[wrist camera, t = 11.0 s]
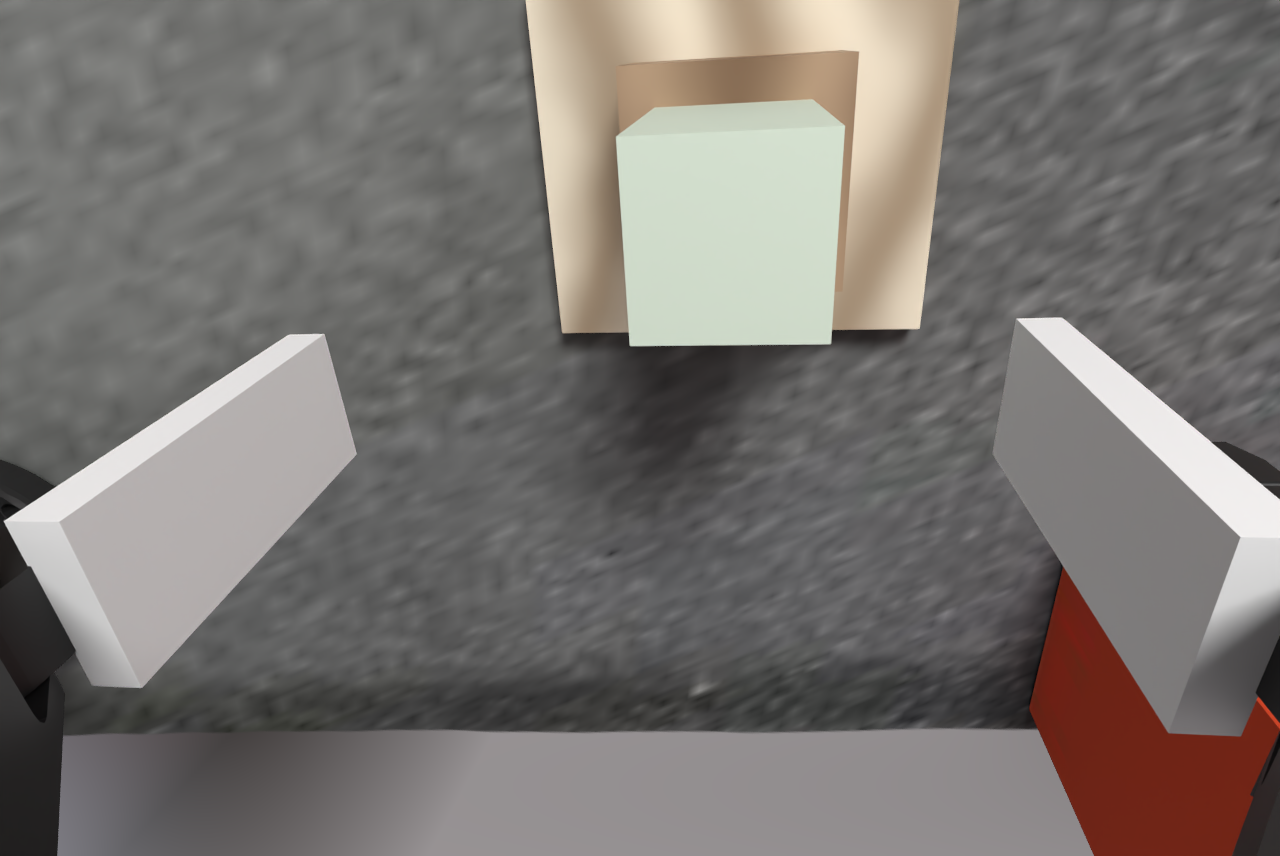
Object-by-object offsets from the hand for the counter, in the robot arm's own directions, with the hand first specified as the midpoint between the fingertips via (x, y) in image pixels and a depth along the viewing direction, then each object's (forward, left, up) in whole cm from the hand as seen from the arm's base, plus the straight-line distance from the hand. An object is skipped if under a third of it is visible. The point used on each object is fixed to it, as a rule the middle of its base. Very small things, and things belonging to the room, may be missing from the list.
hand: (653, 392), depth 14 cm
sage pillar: (+1, +1, -18) cm, 18 cm away
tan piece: (+1, +1, -25) cm, 25 cm away
